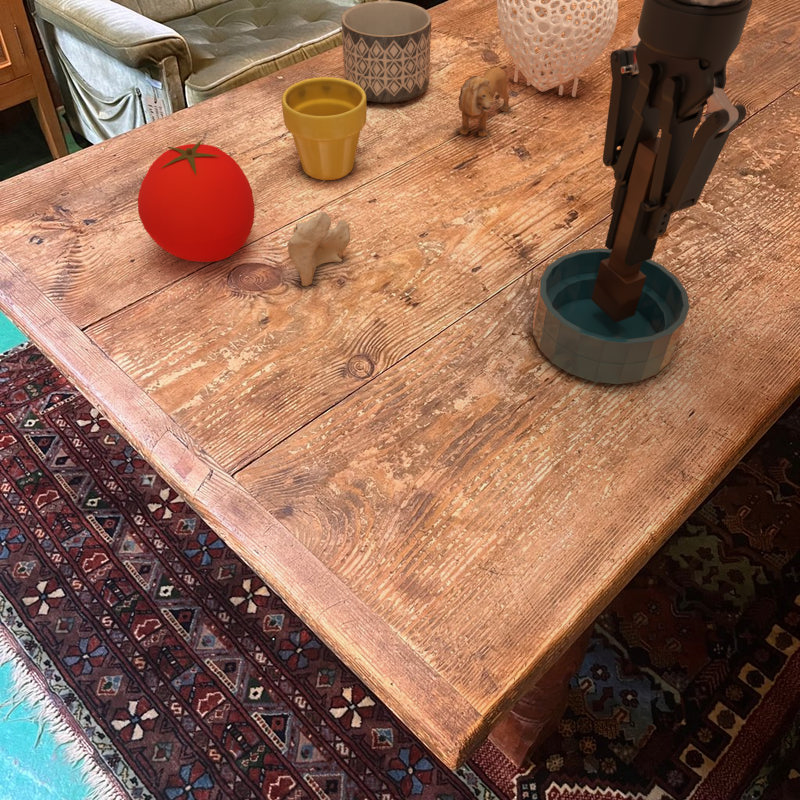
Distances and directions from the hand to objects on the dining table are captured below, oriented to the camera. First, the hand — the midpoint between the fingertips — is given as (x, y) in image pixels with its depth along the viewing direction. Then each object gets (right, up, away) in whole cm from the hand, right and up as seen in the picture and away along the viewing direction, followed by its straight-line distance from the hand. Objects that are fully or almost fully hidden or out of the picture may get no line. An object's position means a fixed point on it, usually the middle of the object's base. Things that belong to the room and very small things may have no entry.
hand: (628, 251), depth 73 cm
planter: (-24, +33, +43) cm, 59 cm away
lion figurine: (-10, +25, +36) cm, 45 cm away
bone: (-31, +1, +14) cm, 34 cm away
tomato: (-44, +3, +16) cm, 47 cm away
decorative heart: (0, +33, +43) cm, 54 cm away
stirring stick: (0, -5, +5) cm, 7 cm away
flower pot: (-31, +16, +28) cm, 45 cm away
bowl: (-1, -8, +6) cm, 10 cm away
